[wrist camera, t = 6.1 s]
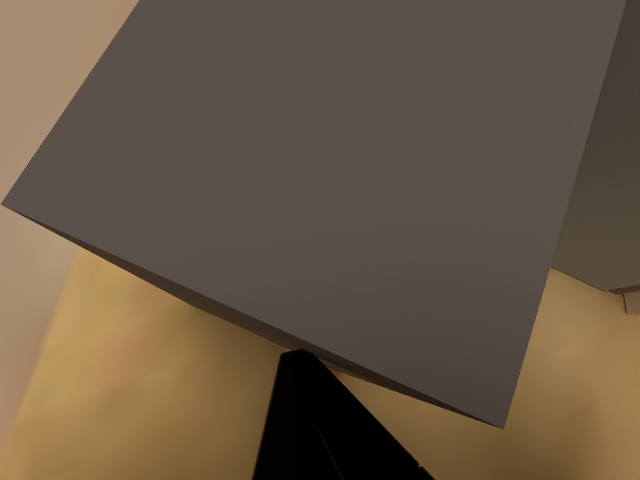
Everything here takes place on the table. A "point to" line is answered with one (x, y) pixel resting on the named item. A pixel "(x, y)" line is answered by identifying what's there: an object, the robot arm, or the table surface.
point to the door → (609, 177)
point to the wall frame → (632, 302)
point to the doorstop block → (339, 174)
